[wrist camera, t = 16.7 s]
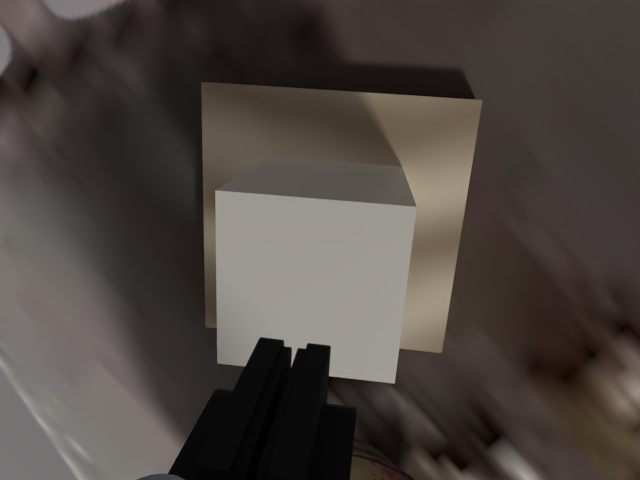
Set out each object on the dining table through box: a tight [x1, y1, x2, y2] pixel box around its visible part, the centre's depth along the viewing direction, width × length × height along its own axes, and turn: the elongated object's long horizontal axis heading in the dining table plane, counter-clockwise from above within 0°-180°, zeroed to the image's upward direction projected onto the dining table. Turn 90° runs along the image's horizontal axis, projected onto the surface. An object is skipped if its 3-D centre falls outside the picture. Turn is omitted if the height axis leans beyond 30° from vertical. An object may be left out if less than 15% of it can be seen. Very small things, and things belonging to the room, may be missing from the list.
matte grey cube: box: [215, 157, 417, 384], centre depth 21 cm, size 7×7×9 cm
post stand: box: [201, 82, 482, 353], centre depth 23 cm, size 14×14×8 cm
